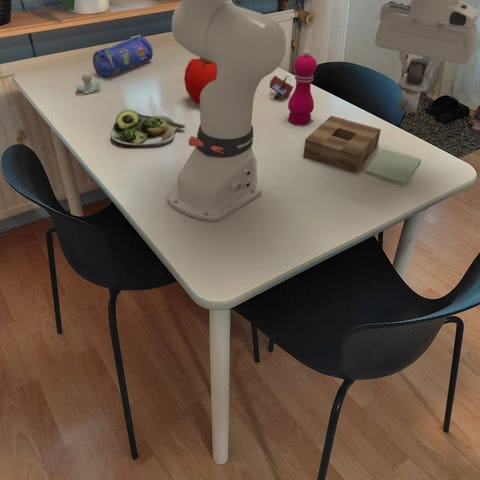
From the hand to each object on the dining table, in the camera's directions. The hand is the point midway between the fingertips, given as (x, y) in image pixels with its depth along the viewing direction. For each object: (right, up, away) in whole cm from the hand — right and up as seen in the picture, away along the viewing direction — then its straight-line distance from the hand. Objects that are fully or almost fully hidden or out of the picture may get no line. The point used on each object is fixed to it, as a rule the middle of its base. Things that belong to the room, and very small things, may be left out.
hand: (415, 74), depth 110 cm
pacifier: (-86, +10, +46) cm, 98 cm away
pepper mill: (-22, -2, +34) cm, 40 cm away
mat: (0, -18, +15) cm, 24 cm away
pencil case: (-77, +21, +60) cm, 100 cm away
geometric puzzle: (-26, +8, +46) cm, 53 cm away
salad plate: (-65, -8, +26) cm, 70 cm away
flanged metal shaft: (0, -6, +5) cm, 8 cm away
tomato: (-49, +5, +42) cm, 65 cm away
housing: (-12, -13, +20) cm, 27 cm away
